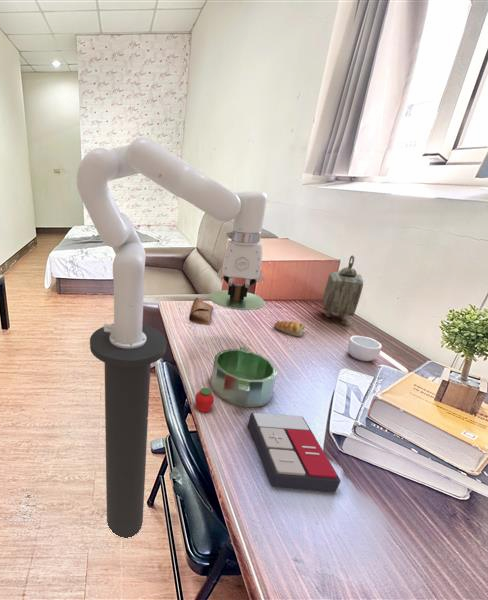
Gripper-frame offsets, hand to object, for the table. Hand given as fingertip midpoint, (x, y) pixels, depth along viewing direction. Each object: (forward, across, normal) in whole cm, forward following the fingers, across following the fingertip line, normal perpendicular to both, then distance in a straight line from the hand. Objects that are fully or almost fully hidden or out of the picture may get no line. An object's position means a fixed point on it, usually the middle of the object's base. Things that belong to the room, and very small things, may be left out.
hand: (236, 297), depth 94 cm
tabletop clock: (+18, +37, +39) cm, 57 cm away
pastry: (+18, +20, +20) cm, 33 cm away
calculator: (+18, +13, -40) cm, 46 cm away
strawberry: (+17, -4, -32) cm, 37 cm away
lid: (+1, 0, 0) cm, 1 cm away
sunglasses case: (+18, -12, +23) cm, 32 cm away
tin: (+17, +4, -21) cm, 28 cm away
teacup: (+18, +38, +10) cm, 43 cm away
